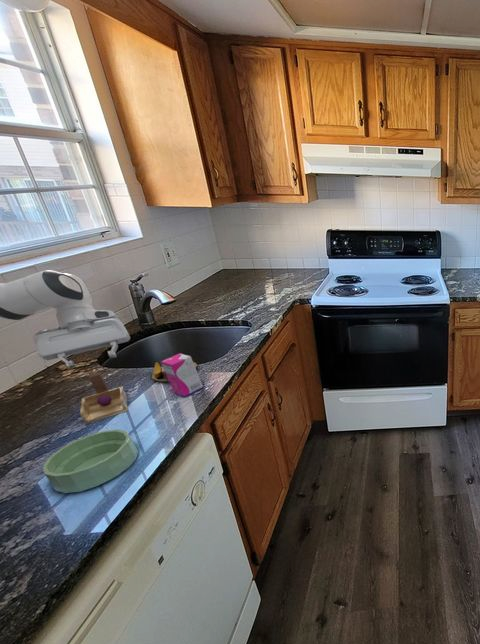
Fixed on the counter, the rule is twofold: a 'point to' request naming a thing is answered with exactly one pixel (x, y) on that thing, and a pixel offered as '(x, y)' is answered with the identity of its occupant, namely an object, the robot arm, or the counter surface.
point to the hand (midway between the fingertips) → (92, 361)
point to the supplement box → (182, 375)
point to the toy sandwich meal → (161, 373)
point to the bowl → (90, 461)
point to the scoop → (97, 412)
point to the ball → (104, 400)
